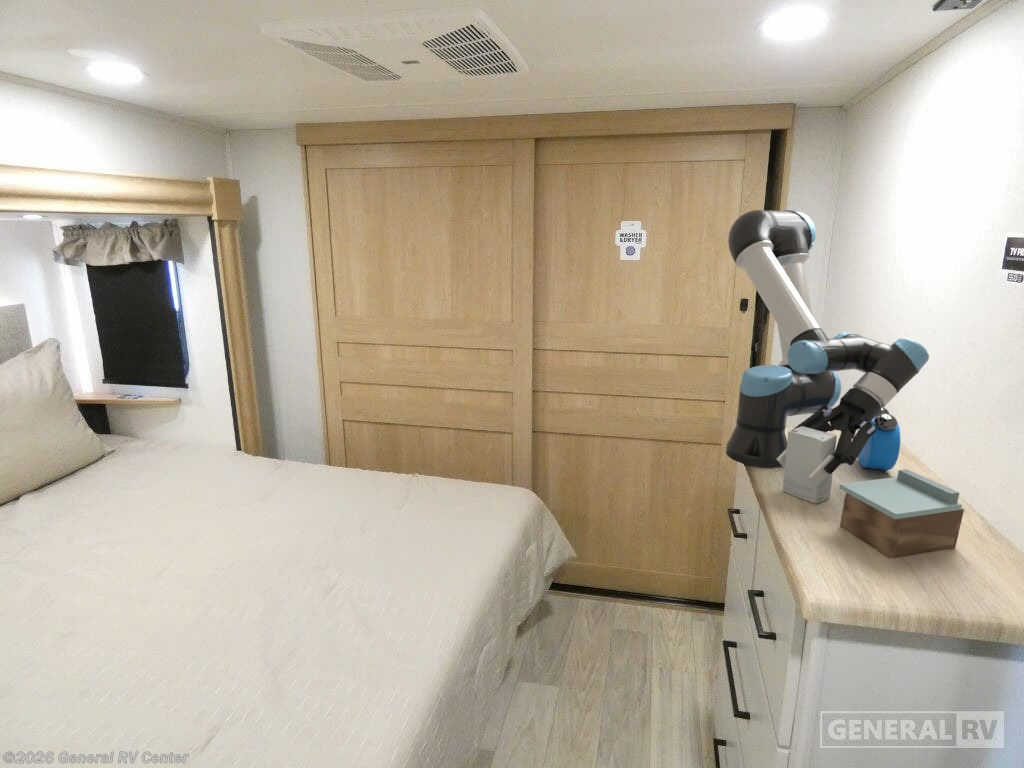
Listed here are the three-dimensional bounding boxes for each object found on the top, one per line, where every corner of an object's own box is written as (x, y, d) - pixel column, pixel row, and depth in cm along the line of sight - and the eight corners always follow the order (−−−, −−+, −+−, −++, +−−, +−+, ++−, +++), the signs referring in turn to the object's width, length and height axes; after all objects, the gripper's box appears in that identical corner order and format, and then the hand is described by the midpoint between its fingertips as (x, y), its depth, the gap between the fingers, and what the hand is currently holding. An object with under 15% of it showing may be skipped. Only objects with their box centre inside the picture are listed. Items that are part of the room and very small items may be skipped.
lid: (839, 488, 116) (841, 474, 116) (900, 481, 120) (902, 467, 119) (894, 519, 105) (898, 503, 104) (960, 509, 108) (964, 494, 108)
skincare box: (830, 498, 131) (840, 435, 127) (814, 505, 128) (825, 440, 124) (794, 484, 138) (803, 424, 134) (779, 491, 134) (787, 429, 130)
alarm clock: (894, 479, 141) (906, 419, 137) (865, 476, 143) (876, 417, 139) (879, 459, 153) (889, 403, 149) (852, 456, 155) (862, 401, 151)
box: (839, 526, 119) (846, 490, 117) (899, 518, 122) (906, 482, 120) (890, 558, 107) (898, 518, 105) (955, 548, 111) (964, 509, 109)
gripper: (919, 424, 121) (842, 503, 121) (836, 395, 142) (771, 462, 142) (903, 401, 118) (825, 482, 119) (821, 374, 139) (754, 444, 139)
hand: (795, 471), depth 130 cm, fingers closed on skincare box, 9 cm apart
